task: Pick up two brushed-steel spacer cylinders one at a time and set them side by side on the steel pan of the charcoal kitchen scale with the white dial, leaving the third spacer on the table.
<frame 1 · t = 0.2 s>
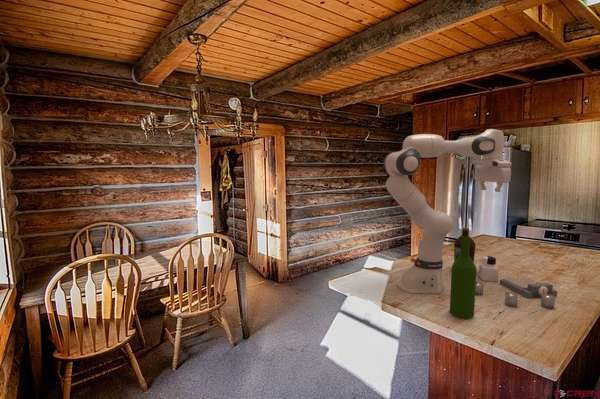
hand: (490, 190, 158), 47 cm above the table, fingers open, 8 cm apart
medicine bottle: (487, 279, 169), on the table
spacer b: (547, 306, 136), on the table
spacer a: (510, 304, 138), on the table
olive oil: (463, 272, 179), on the table
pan: (524, 282, 155), point 3 cm above the table, slide at -0.5 cm
wine bottle: (461, 314, 131), on the table
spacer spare: (477, 293, 150), on the table
scale: (526, 289, 154), on the table
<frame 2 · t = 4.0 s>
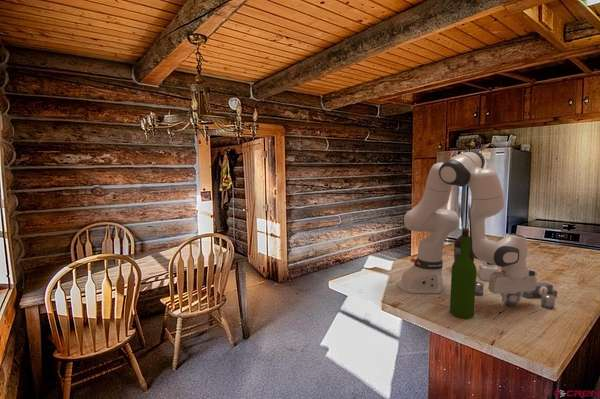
hand: (511, 301, 138), 2 cm above the table, fingers closed on spacer a, 4 cm apart
spacer a: (510, 304, 138), on the table, touching gripper
everything else where it was.
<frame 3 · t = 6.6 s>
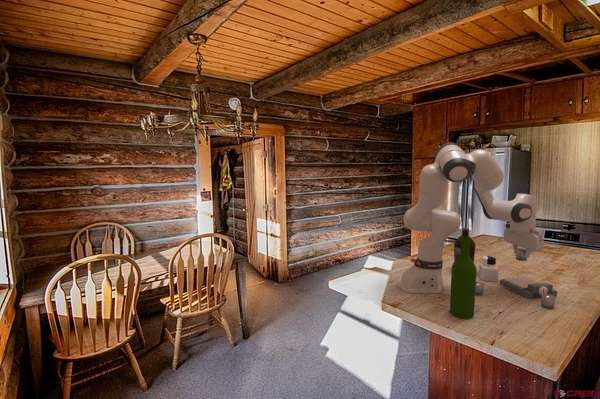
hand: (521, 255, 151), 17 cm above the table, fingers closed on spacer a, 4 cm apart
spacer a: (521, 259, 152), point 15 cm above the table, touching gripper
everything else where it was.
when the fingers open (6 cm above the table, at t = 9.1 s): spacer a drops 1 cm, resting on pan.
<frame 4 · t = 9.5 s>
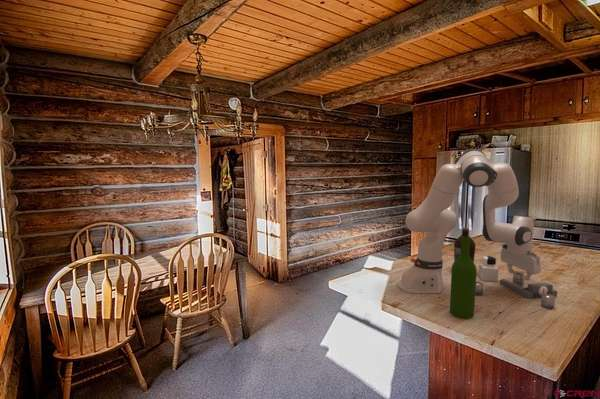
hand: (518, 276, 154), 6 cm above the table, fingers open, 8 cm apart
spacer a: (518, 282, 154), point 3 cm above the table, touching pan
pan: (524, 282, 155), point 3 cm above the table, slide at -0.6 cm, touching scale, spacer a
everything else where it was.
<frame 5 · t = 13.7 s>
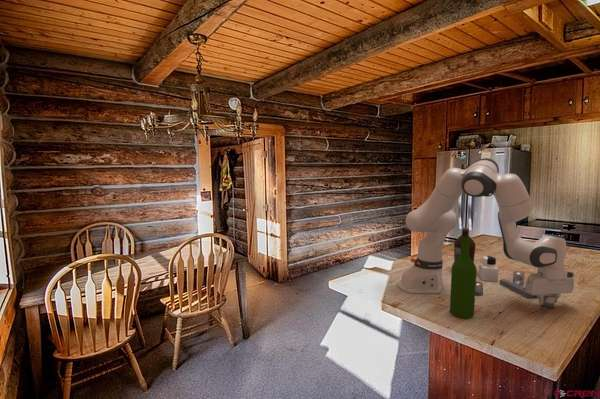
hand: (547, 303, 136), 2 cm above the table, fingers closed on spacer b, 4 cm apart
spacer b: (547, 306, 136), on the table, touching gripper
everything else where it was.
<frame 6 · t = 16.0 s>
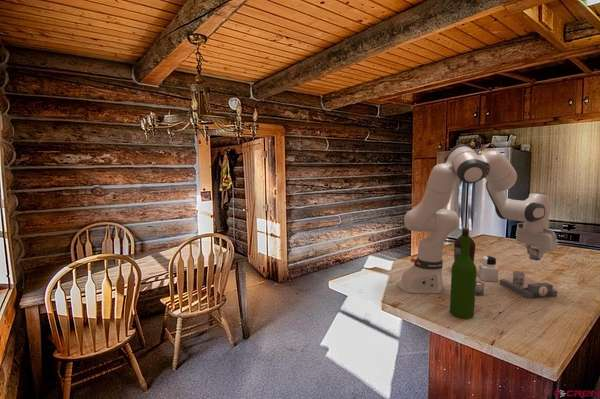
hand: (534, 255, 152), 17 cm above the table, fingers closed on spacer b, 4 cm apart
spacer b: (534, 258, 152), point 16 cm above the table, touching gripper
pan: (524, 282, 155), point 3 cm above the table, slide at -0.5 cm, touching spacer a
everything else where it was.
when the fingers open (6 cm above the table, at t = 18.5 s): spacer b drops 2 cm, resting on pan.
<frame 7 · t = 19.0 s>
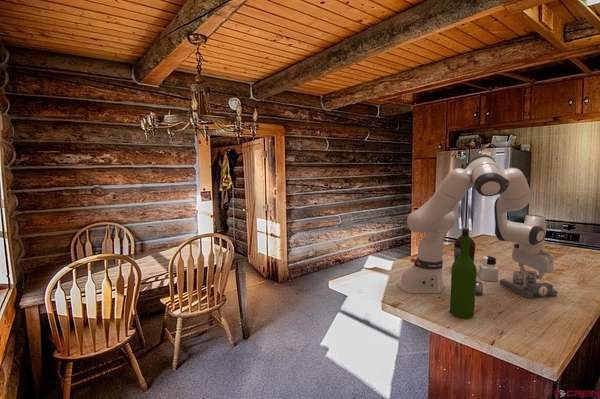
hand: (530, 275, 155), 6 cm above the table, fingers open, 8 cm apart
spacer b: (530, 281, 155), point 3 cm above the table, touching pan
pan: (524, 282, 155), point 3 cm above the table, slide at -0.6 cm, touching scale, spacer a, spacer b
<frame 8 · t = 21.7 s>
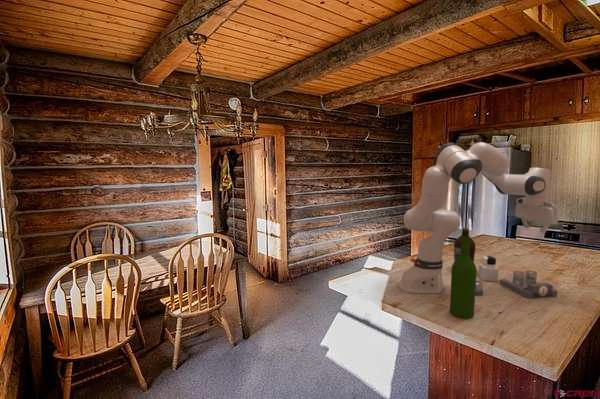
hand: (534, 230, 152), 29 cm above the table, fingers open, 8 cm apart
nothing on the table moved.
at the end: spacer a inside the target area on the scale (3.5 cm from its centre), point 3.4 cm above the scale's base; spacer b inside the target area on the scale (3.0 cm from its centre), point 3.4 cm above the scale's base; spacer b tilted 1° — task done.
